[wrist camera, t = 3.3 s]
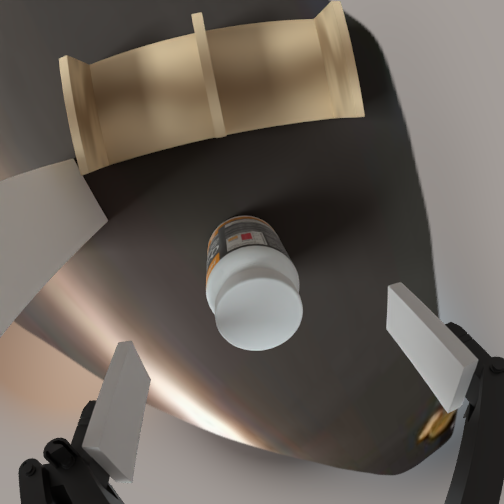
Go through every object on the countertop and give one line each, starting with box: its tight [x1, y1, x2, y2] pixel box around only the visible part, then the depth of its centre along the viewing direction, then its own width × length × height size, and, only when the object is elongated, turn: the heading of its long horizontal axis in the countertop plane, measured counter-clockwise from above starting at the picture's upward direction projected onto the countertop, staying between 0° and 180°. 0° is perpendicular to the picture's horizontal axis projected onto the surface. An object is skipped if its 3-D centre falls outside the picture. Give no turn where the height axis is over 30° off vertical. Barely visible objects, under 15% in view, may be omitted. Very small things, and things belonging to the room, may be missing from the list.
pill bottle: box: [206, 216, 303, 351], centre depth 21 cm, size 6×6×10 cm
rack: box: [59, 1, 365, 176], centre depth 18 cm, size 8×18×5 cm, turn 100°
